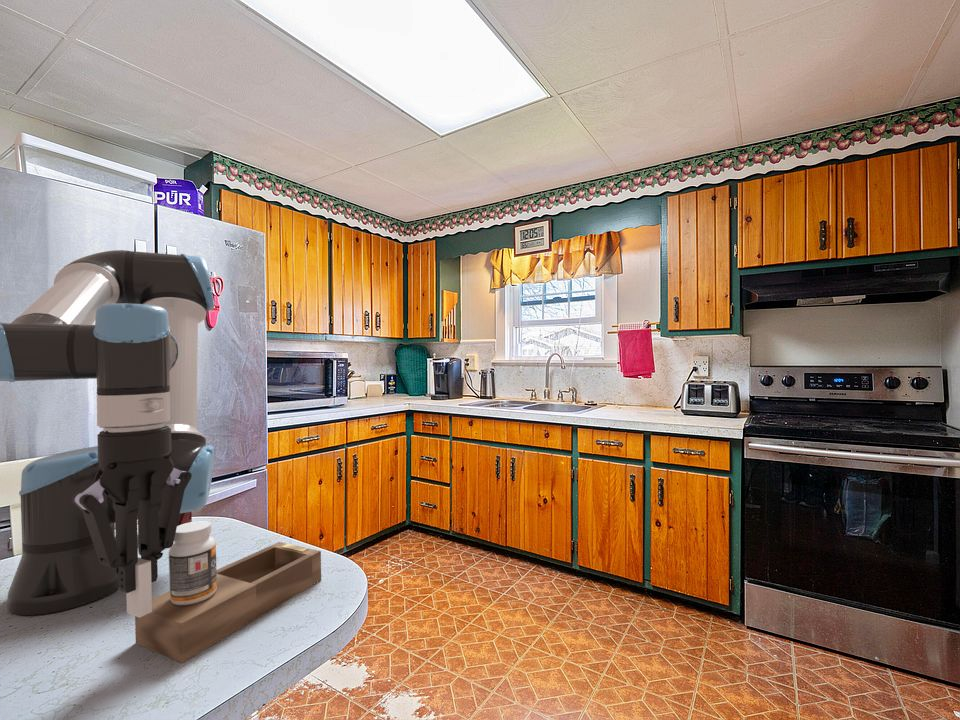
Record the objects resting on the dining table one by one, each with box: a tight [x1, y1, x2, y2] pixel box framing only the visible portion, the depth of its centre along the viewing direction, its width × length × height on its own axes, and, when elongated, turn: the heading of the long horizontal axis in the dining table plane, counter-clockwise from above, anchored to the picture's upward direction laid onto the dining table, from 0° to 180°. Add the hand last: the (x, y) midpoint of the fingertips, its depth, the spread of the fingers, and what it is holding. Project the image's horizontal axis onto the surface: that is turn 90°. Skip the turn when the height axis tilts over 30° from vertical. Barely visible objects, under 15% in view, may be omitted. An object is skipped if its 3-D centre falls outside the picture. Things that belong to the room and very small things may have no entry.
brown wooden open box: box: [134, 541, 322, 663], centre depth 73 cm, size 10×24×5 cm, turn 155°
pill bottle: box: [167, 520, 218, 605], centre depth 66 cm, size 6×6×10 cm
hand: (139, 612), depth 60 cm, fingers closed
